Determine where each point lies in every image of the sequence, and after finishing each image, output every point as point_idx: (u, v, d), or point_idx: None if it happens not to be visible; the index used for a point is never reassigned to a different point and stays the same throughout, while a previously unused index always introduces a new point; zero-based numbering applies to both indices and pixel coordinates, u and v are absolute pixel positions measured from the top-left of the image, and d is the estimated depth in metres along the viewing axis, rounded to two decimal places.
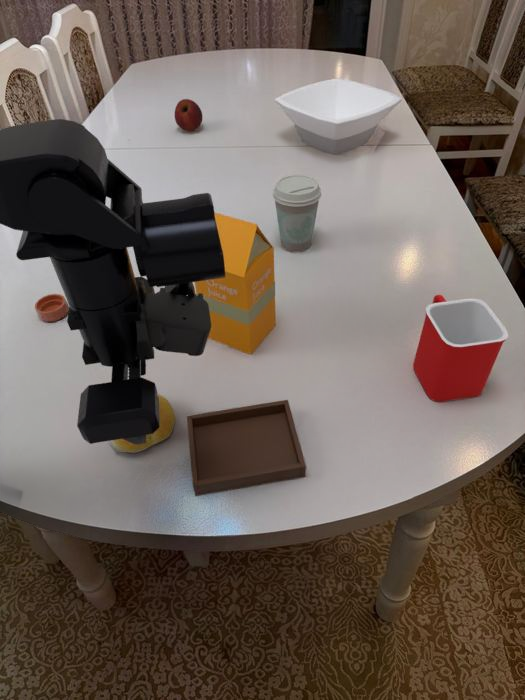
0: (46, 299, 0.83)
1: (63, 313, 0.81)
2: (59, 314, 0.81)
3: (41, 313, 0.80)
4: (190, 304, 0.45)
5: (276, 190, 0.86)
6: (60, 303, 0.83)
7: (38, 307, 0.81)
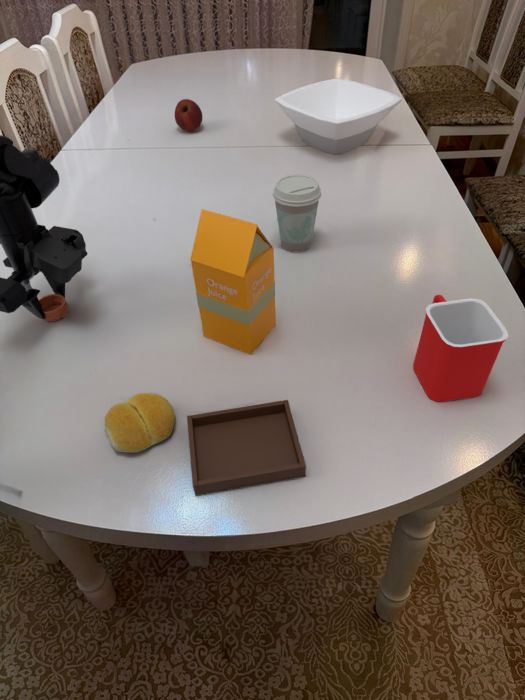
0: (46, 299, 0.83)
1: (63, 313, 0.81)
2: (59, 314, 0.81)
3: None
4: (69, 251, 0.72)
5: (276, 190, 0.86)
6: (60, 303, 0.83)
7: None
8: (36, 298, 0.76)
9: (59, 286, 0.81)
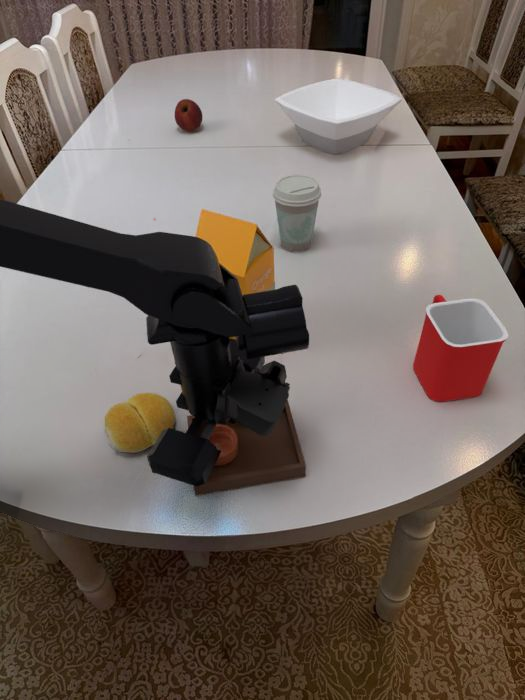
0: None
1: (235, 454, 0.60)
2: (231, 457, 0.60)
3: None
4: (272, 391, 0.52)
5: (276, 190, 0.86)
6: (225, 436, 0.62)
7: None
8: None
9: None
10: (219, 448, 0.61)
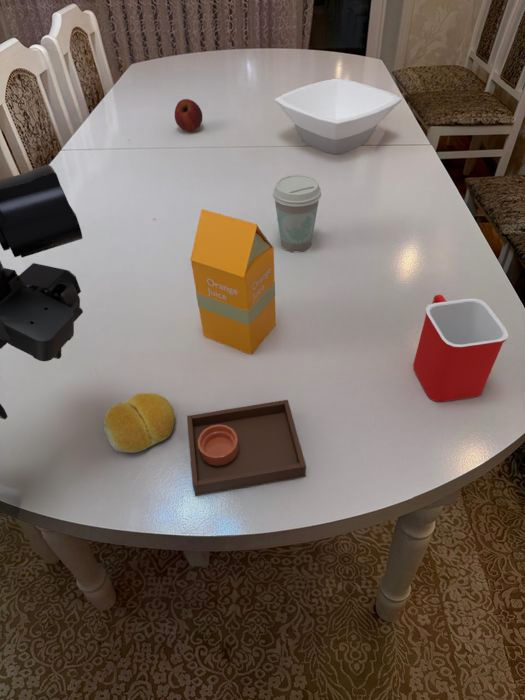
0: (208, 432, 0.62)
1: (235, 454, 0.60)
2: (231, 457, 0.60)
3: (210, 457, 0.59)
4: (53, 311, 0.46)
5: (276, 190, 0.86)
6: (225, 436, 0.62)
7: (201, 445, 0.60)
8: None
9: None
10: (219, 448, 0.61)
